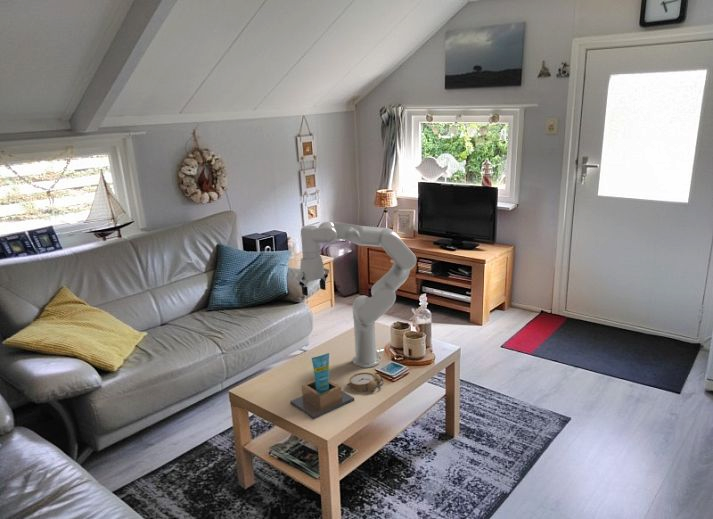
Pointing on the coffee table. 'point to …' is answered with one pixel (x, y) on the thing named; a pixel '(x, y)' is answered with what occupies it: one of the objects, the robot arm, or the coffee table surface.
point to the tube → (321, 372)
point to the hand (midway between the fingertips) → (314, 292)
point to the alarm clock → (365, 382)
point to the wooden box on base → (320, 399)
